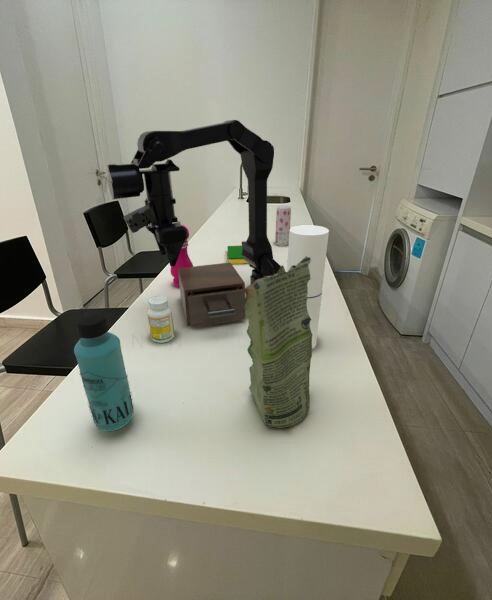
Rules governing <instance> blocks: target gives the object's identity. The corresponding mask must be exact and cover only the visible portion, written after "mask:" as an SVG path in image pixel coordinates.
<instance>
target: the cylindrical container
mask: <svg viewBox="0 0 492 600" xmlns="http://www.w3.org/2000/svg"><path fill="white" fill-rule="evenodd" d="M329 235H330V230H329V228H327V227H325V226H322V225H316V224H315V225H314V224H302V225H299V224H298V225H294V226H292V227H290V230H289V244H288V246H287V247H288V249H287V266H286V272H288V271H289V269H290V268H291V266H293V265H297V264H298V263H299V262H300V261H301V260H302V259H304V258H305V257H306V256H307V257H308V258H309V257H310V258H311V261H310V263H309V266H308V267H309V271H310V280H309V281H308V284H307V287H308V291H307V292H308V294H307V311H308V314H309V316H310V318H311V321H310V329H311V333H312V350H313V349H315V348H316V346H317V340H318V331H319V322H320V313H321V306H322V305H321V303H322V298H323V297H322V296H323V295H322V294H323V285H324V279H325V269H326V260H327V251H328V242H329Z"/></svg>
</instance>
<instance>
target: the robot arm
mask: <svg viewBox="0 0 492 600" xmlns="http://www.w3.org/2000/svg"><path fill="white" fill-rule="evenodd" d="M223 142H228V144H229V145H230V146H231V147H232V149H233V150H234V151H235V152H236V153H237V154H239V155H240V161H241V166H242V169H243V172H244V175H245V177H246V179H247V201H248V202H247V204H248V205H247V206H248V236H247V239H246V240H245V241H241V246H242V254H241V255H242V256H244V259H245V260H246V261H247V262H248V263H247V264H248V266H249V267H250V268H252V269H251V274H250V276H249V277H250V279H249V280H250V282H249V283H250V284H249V286H250V285H251V284H253V282H255V280H257V279H260V278H263V277H264V276H274V275H275V274H276V273H277V272H278V271H279V269H280V268H281V266H282V265H281V264H279V263H278V262H277V261H276V260H275V259H274V254H273V247H272V244H271V242H270V239H269V237H268V179H269V177H270V174H271V172H272V170H273V168H274V161H275V153H276V152H275V147H274V145H273V144H272V143H271V142H270V141H268V140H264V139H263V138H262V137H261V136H259V135H258V134H256V133H255V132H254V131H252V130H251V129H249V128H248V127H246V126H245V124H243V123H242V122H241V121H240V120H238V119H229V120H225V121H223V122H220V123H215V124H210V125H204V126H198V127H194V128H189V129H184V130H147V131H144V132H142V133H141V134H140V135H139V137H138V139H137V143H136V144H137V150H136V152H135V154H134V156H133V158H132V160H131V162H130V163H124V164H121V163H120V164H116V163H110V164H109V163H108V164H107V165H106V168H107V178H108V180H107V184H108V190H109V193H110V196H111V198H112V200H119V199H128V198H136V197H138V198H139V197H140V196H141V193H144V191H145V193H146V198H145V200H144V205H143V206H141V207H140V208H137V209H135V210H133V211H131V212H129V213H127V214H125V215H124V216H123V220H124V222H125V223H126V225H127V227H128V229H129V230H130V232H131V233H132V234H135V233H137V232H139V231H140V230H141V229H142V228H145V229H146V230H147V231H148V232H150V233H151V234H153V237H154V239H155V242H156V245H157V247H158V250H159V253H160V255H161V256H165V255H166V257H167V260H168V263H169V266H170V268H171V267H173V266H175V265H176V262H177V259H178V257H179V254H180V251H181V249H182V246H183V244H184V242H185V241H186V239H187V238H188V239H189V237H188V232H187V229H188V228H187V229H186V228H185V227H186V226H185V227H183V226H182V225H183V224H182V223H181V224H179V223H175V222H178V220H179V219H178V217H177V216H176V212H175V204H177V200H176V198H174V194H173V185H172V177H171V172H179V171H180V167H179V166H178V165H176V164H175V163H174V162H173V160H172V159H170V158H173V157H175V156H177V155H178V154H180V153H182V152H185V151H187V150H190V149H191V150H192V149H195V148H200V147H205V146H210V145H213V144H219V143H223ZM164 161H165V162H164ZM156 162H157V163H156ZM158 162H159V163H158ZM161 162H164V163H161ZM188 239H187V240H188Z"/></svg>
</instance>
